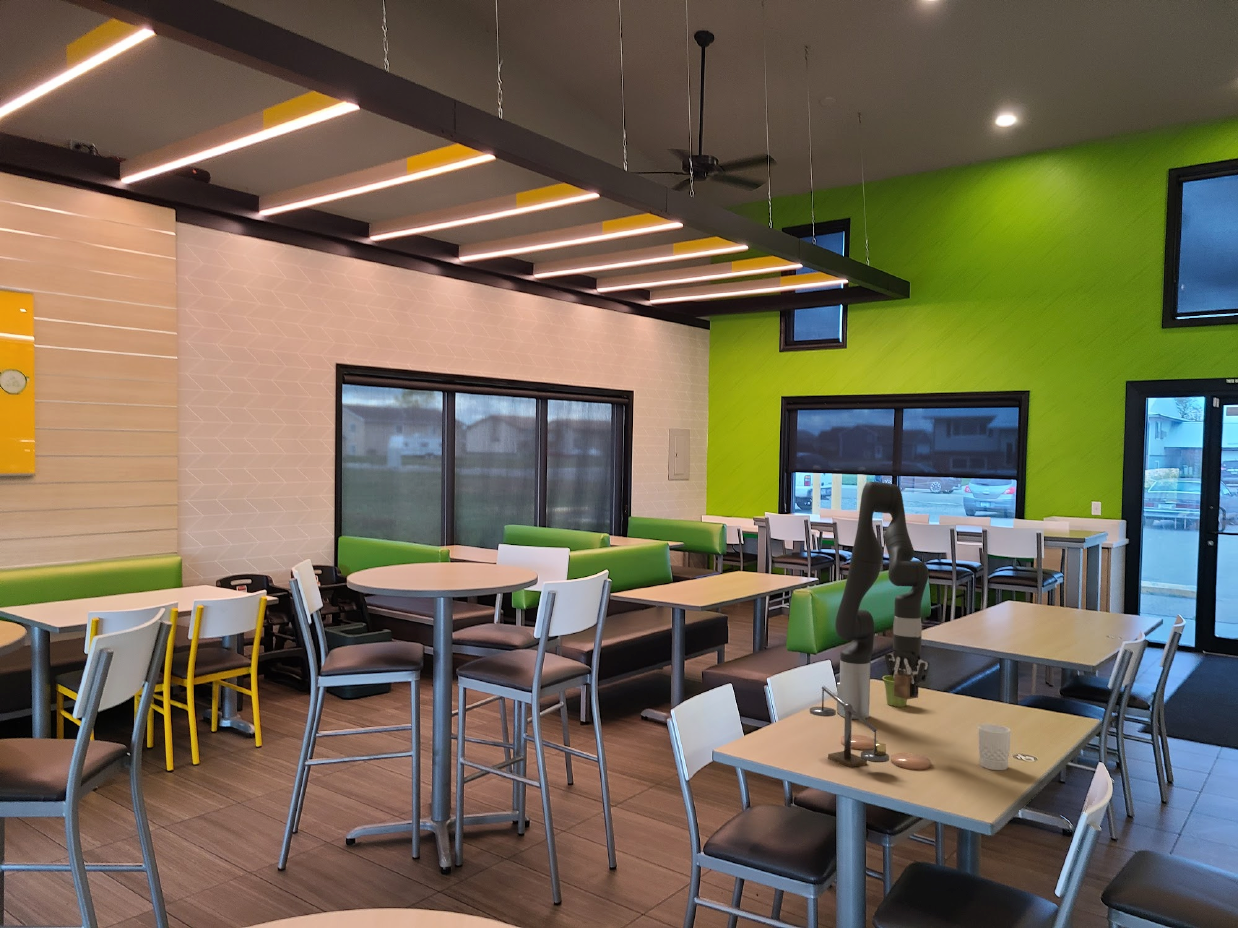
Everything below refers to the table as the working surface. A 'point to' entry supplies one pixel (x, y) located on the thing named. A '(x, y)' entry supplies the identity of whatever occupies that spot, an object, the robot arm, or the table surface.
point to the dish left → (860, 742)
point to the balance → (846, 756)
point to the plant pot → (892, 693)
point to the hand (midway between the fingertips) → (906, 694)
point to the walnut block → (902, 686)
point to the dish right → (910, 761)
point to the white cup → (994, 746)
